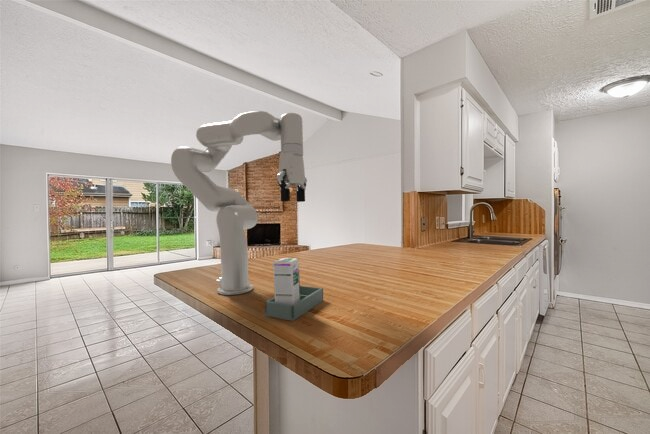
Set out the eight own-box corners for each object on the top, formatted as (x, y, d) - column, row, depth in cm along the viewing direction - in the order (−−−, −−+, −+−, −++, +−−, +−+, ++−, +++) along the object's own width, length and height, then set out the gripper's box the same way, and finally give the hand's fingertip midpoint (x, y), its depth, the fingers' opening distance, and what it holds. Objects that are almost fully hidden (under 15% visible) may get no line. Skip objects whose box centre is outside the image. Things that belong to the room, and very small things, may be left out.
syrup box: (294, 313, 77) (292, 261, 76) (274, 312, 78) (272, 261, 78) (300, 306, 82) (299, 257, 82) (282, 305, 84) (280, 257, 83)
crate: (293, 320, 74) (292, 305, 74) (265, 315, 78) (265, 301, 78) (323, 300, 90) (323, 288, 90) (298, 297, 94) (298, 285, 94)
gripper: (296, 156, 105) (297, 202, 105) (267, 148, 89) (269, 201, 90) (313, 154, 102) (315, 201, 102) (287, 145, 86) (288, 200, 86)
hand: (293, 201), depth 96 cm, fingers open, 9 cm apart
